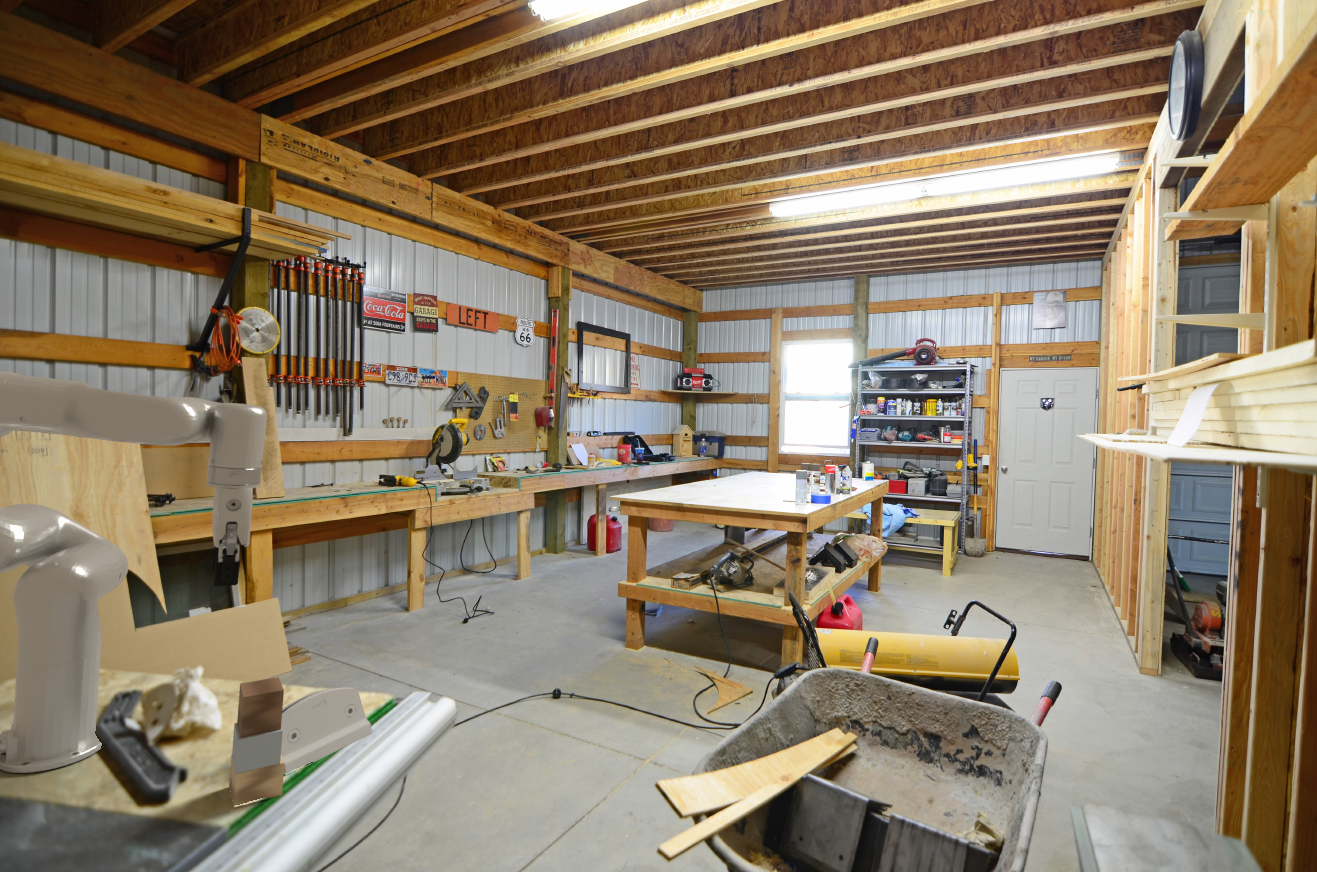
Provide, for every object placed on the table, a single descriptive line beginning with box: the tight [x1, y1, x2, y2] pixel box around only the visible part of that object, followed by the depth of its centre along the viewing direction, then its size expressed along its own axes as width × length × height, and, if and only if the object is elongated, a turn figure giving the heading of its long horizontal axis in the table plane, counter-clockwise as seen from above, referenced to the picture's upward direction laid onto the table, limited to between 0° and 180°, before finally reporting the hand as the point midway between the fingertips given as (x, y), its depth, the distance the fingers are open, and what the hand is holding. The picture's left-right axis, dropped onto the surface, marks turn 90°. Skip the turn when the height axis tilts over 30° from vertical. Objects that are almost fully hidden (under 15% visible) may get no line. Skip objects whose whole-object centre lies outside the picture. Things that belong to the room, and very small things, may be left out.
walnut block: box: [236, 676, 285, 738], centre depth 93 cm, size 5×5×6 cm
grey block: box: [231, 722, 283, 774], centre depth 93 cm, size 6×6×5 cm
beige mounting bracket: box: [281, 687, 373, 773], centre depth 106 cm, size 17×5×10 cm, turn 155°
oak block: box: [228, 754, 285, 806], centre depth 93 cm, size 6×6×5 cm
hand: (224, 577), depth 105 cm, fingers open, 9 cm apart
